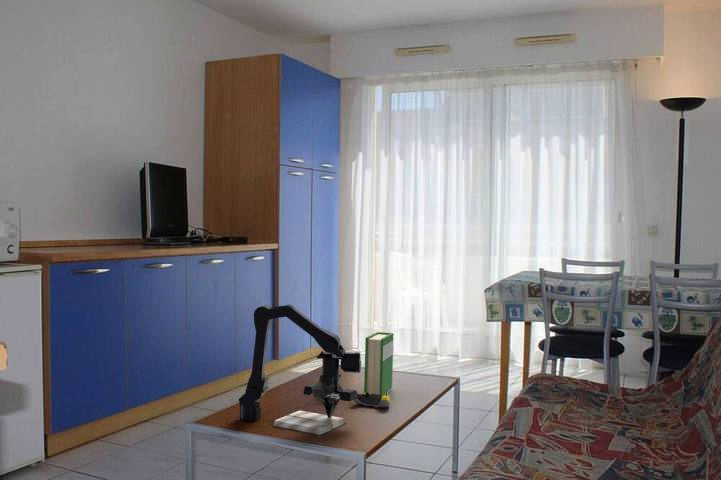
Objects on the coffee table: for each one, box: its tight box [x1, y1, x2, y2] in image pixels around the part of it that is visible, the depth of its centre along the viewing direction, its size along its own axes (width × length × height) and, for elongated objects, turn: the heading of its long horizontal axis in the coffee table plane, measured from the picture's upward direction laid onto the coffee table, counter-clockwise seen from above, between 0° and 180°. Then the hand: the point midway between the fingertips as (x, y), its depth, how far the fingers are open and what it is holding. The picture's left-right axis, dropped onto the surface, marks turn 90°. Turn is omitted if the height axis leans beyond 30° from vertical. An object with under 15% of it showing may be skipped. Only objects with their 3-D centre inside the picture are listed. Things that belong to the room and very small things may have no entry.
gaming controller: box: [353, 391, 391, 408], centre depth 250 cm, size 15×6×10 cm
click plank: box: [287, 410, 345, 430], centre depth 224 cm, size 18×7×2 cm, turn 61°
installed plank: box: [273, 415, 333, 436], centre depth 217 cm, size 18×8×2 cm, turn 61°
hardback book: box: [363, 331, 394, 396], centre depth 271 cm, size 18×7×24 cm, turn 164°
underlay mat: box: [274, 422, 347, 436], centre depth 221 cm, size 19×17×1 cm
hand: (329, 417), depth 223 cm, fingers closed, pressing on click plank
